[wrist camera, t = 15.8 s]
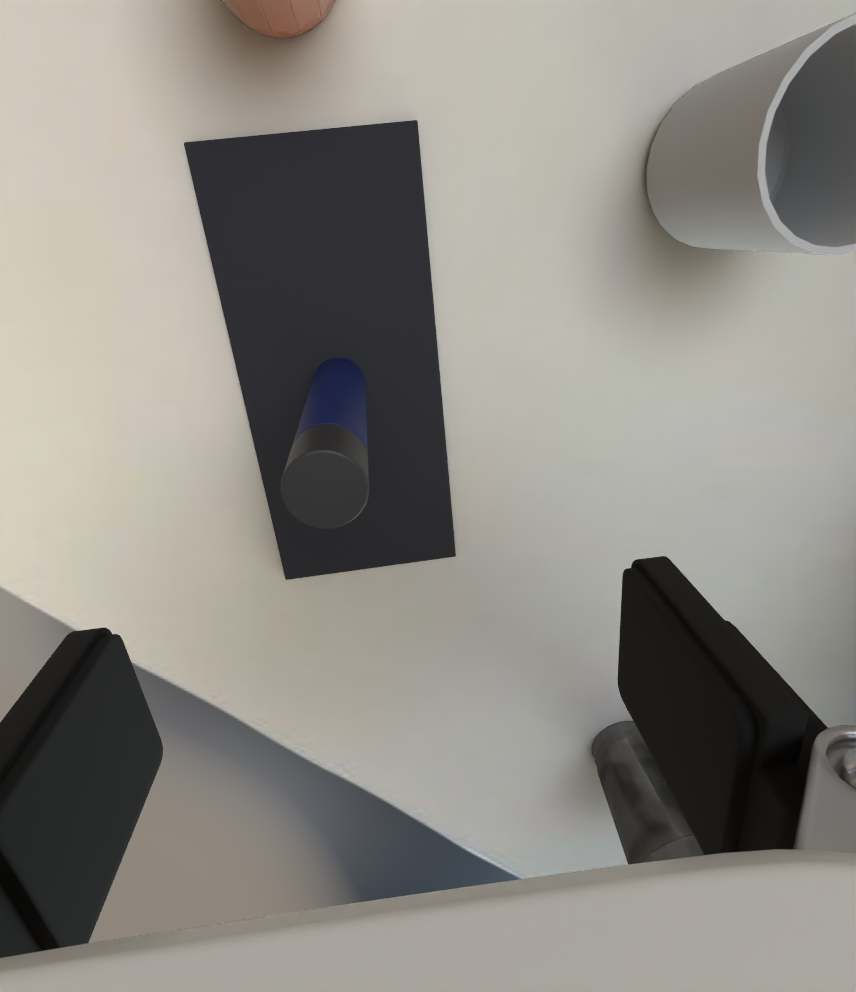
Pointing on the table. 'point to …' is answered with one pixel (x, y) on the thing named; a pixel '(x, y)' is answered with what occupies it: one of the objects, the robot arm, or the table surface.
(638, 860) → the beverage cup
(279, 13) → the tumbler
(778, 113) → the cup
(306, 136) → the desk mat
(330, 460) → the marker
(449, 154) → the table surface
